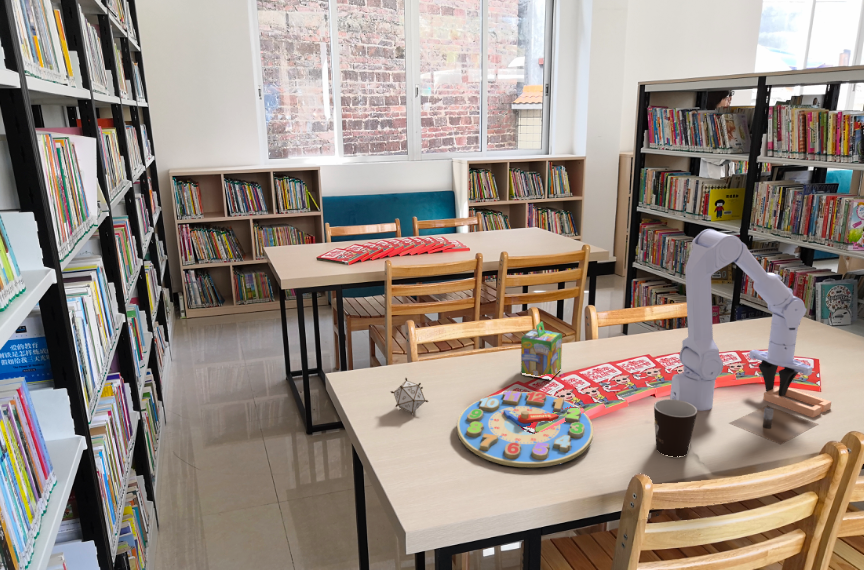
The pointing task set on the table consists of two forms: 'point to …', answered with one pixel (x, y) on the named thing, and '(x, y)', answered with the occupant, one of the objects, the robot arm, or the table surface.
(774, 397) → the c link
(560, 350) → the chalk box
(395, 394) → the game die
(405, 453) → the table surface
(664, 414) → the coffee mug
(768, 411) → the hook post
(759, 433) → the stand base
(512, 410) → the shape sorting clock
